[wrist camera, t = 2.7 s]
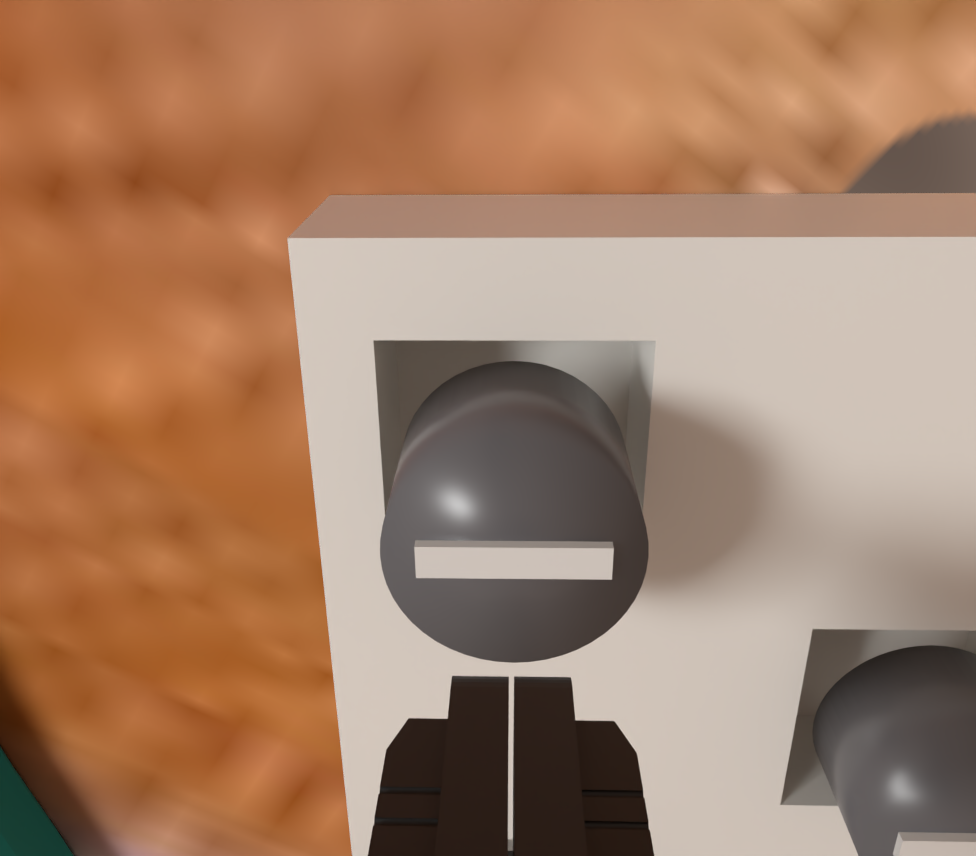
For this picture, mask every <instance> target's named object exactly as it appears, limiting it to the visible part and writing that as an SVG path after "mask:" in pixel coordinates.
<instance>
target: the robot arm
mask: <svg viewBox="0 0 976 856" xmlns="http://www.w3.org/2000/svg"><path fill="white" fill-rule="evenodd" d="M508 735H509V677H503V676H452V680H451V689H450V699H449V710H448V719H430V718H408V720H407V721H406V723H405V724H404V725H403V727H402V728H401V730H400V731H399V732H398V734H397V735H396V737H395V738H394V739H393V741H392V742H391V744H390V745H389V746H388V748H387V749H386V754H385V760H384V765H383V771H382V777H381V783H380V793H379V794H378V800H377V805H376V811H375V817H374V825H373V828H372V834H371V840H370V846H369V851H368V856H508ZM648 823H649V822H648V816H647V810H646V804H645V798H644V797H643V786H642V780H641V774H640V768H639V762H638V756H637V753H636V751H635V750H634V748H633V747H632V745H631V744H630V743H629V741H628V740H627V738H626V737H625V735H624V734H623V732H622V731H621V730H620V728H619V727H618V725H617V724H616V722H615V721H584V720H575V711H574V699H573V688H572V680H571V677H523V676H514V729H513V856H654V851H653V845H652V839H651V833H650V830H649V825H648Z"/></svg>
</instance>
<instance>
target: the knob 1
mask: <svg viewBox="0 0 976 856" xmlns="http://www.w3.org/2000/svg"><path fill="white" fill-rule="evenodd" d="M648 558H649V542H648V536H647V529H646V525H645V521H644V517H643V513H642V509H641V505H640V501H639V498H638V494H637V490H636V486H635V482H634V478H633V474H632V470H631V466H630V463H629V459H628V455H627V451H626V447H625V443H624V439H623V436H622V433H621V430H620V427H619V425H618V423H617V421H616V419H615V417H614V415H613V413H612V412H611V410H610V409H609V407H608V406H607V404H606V403H605V402H604V401H603V400H602V399H601V398H600V396H599V395H598V394H597V393H596V392H595V391H593V390H592V389H591V388H590V387H589V386H587V385H586V384H585V383H583V382H582V381H580V380H579V379H577V378H576V377H574V376H572V375H570V374H568V373H566V372H564V371H562V370H559V369H556V368H553V367H550V366H547V365H543V364H538V363H533V362H524V361H504V362H495V363H490V364H484V365H481V366H478V367H474V368H471V369H468V370H466V371H464V372H462V373H460V374H458V375H455V376H454V377H452V378H451V379H449V380H447V381H446V382H444V383H443V384H442V385H440V386H439V387H438V388H437V389H436V390H434V391H433V392H432V393H431V394H430V395H429V396H428V397H427V398H426V399H425V401H424V402H423V403H422V404H421V406H420V407H419V409H418V410H417V411H416V413H415V414H414V416H413V418H412V420H411V422H410V424H409V426H408V430H407V433H406V436H405V439H404V443H403V447H402V451H401V455H400V458H399V462H398V466H397V470H396V474H395V478H394V482H393V486H392V490H391V494H390V498H389V502H388V506H387V510H386V514H385V518H384V522H383V526H382V532H381V538H380V559H381V566H382V571H383V575H384V578H385V581H386V584H387V586H388V589H389V591H390V593H391V595H392V597H393V599H394V600H395V602H396V603H397V605H398V606H399V608H400V609H401V611H402V612H403V613H404V614H405V615H406V616H407V618H408V619H409V620H410V621H411V622H412V623H413V624H414V625H415V626H416V627H418V628H419V629H420V630H421V631H422V632H423V633H425V634H426V635H428V636H429V637H430V638H432V639H433V640H435V641H436V642H438V643H440V644H442V645H444V646H446V647H448V648H449V649H452V650H454V651H457V652H459V653H462V654H464V655H468V656H471V657H475V658H479V659H483V660H489V661H495V662H509V663H519V662H534V661H540V660H547V659H551V658H554V657H558V656H562V655H565V654H567V653H570V652H573V651H575V650H578V649H580V648H582V647H584V646H586V645H588V644H590V643H591V642H593V641H594V640H596V639H597V638H599V637H600V636H602V635H603V634H605V633H606V632H607V631H608V630H609V629H611V628H612V627H613V626H614V625H615V624H616V623H617V622H618V621H619V620H620V619H621V618H622V617H623V616H624V614H625V613H626V612H627V611H628V609H629V608H630V606H631V605H632V603H633V602H634V601H635V599H636V597H637V595H638V593H639V591H640V589H641V587H642V584H643V580H644V577H645V574H646V570H647V564H648Z"/></svg>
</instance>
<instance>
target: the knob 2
mask: <svg viewBox="0 0 976 856" xmlns="http://www.w3.org/2000/svg"><path fill="white" fill-rule="evenodd" d="M812 733H813V743H814V747H815V751H816V753H817V756H818V758H819V760H820V763H821V765H822V768H823V770H824V773H825V775H826V778H827V780H828V782H829V785H830V787H831V790H832V792H833V795H834V797H835V800H836V802H837V804H838V807H839V809H840V812H841V814H842V817H843V819H844V822H845V824H846V826H847V829H848V831H849V834H850V836H851V839H852V841H853V844H854V846H855V848H856V851H857V853H858V856H976V654H974V653H971V652H969V651H965V650H962V649H959V648H953V647H948V646H935V645H927V646H914V647H907V648H902V649H898V650H894V651H890V652H887V653H884V654H881V655H878V656H876V657H874V658H872V659H870V660H867V661H865V662H864V663H862V664H860V665H858V666H857V667H855V668H853V669H852V670H851V671H849V672H848V673H847V674H845V675H844V676H843V677H842V678H841V679H840V680H838V681H837V682H836V683H835V684H834V685H833V687H832V688H831V689H830V690H829V691H828V692H827V694H826V695H825V697H824V698H823V700H822V701H821V703H820V705H819V707H818V710H817V712H816V715H815V718H814V722H813V731H812Z"/></svg>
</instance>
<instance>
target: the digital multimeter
mask: <svg viewBox="0 0 976 856" xmlns="http://www.w3.org/2000/svg"><path fill="white" fill-rule="evenodd" d="M0 856H73V854H72V852H71V851H70V849H69V848H68V846H67V845H66V843H65V842H64V840H63V838H62V837H61V835H60V834H59V832H58V831H57V829H56V828H55V826H54V825H53V823H52V822H51V820H50V819H49V817H48V816H47V815H46V813H45V812H44V810H43V809H42V807H41V806H40V805H39V803H38V802H37V800H36V799H35V797H34V796H33V794H32V793H31V792H30V790H29V789H28V787H27V786H26V784H25V783H24V781H23V780H22V779H21V777H20V776H19V774H18V773H17V771H16V770H15V769H14V767H13V766H12V764H11V762H10V761H9V759H8V758H7V756H6V754H5V753H4V751H3V750H2V748H1V746H0Z"/></svg>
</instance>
